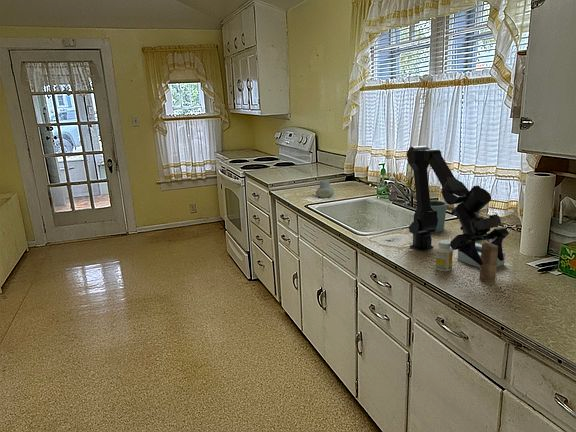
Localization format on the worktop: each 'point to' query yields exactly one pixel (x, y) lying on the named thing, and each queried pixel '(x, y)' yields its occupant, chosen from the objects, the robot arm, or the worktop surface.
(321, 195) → the air freshener
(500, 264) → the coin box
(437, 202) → the blue-grey round container
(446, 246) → the supplement bottle
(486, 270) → the wooden block
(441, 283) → the worktop surface
